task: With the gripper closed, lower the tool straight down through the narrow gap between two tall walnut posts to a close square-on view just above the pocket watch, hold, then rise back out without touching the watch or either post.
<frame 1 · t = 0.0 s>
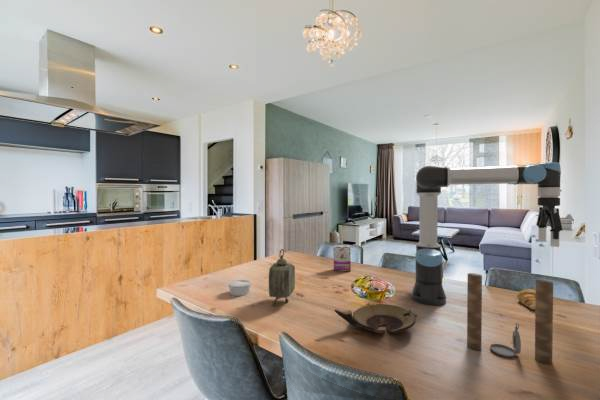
hand: (548, 244, 125), 28 cm above the table, fingers open, 13 cm apart
candy bar box: (342, 270, 185), on the table
post left: (474, 347, 91), on the table
ramekin: (239, 293, 143), on the table
croissant: (530, 304, 127), on the table
post right: (543, 360, 84), on the table
pocket watch: (507, 354, 88), on the table
oil lamp: (375, 327, 106), on the table
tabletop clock: (282, 302, 130), on the table
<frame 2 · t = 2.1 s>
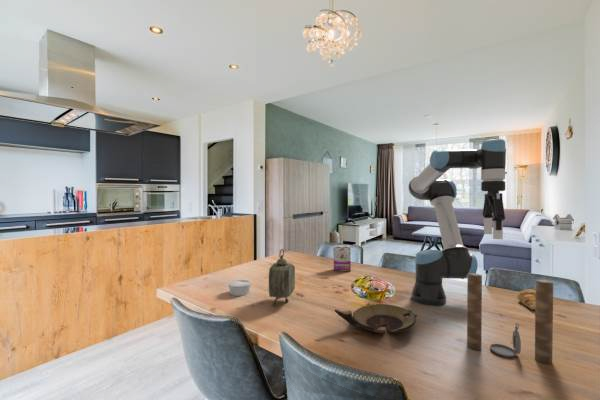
hand: (492, 236, 105), 34 cm above the table, fingers open, 13 cm apart
nothing on the table moved.
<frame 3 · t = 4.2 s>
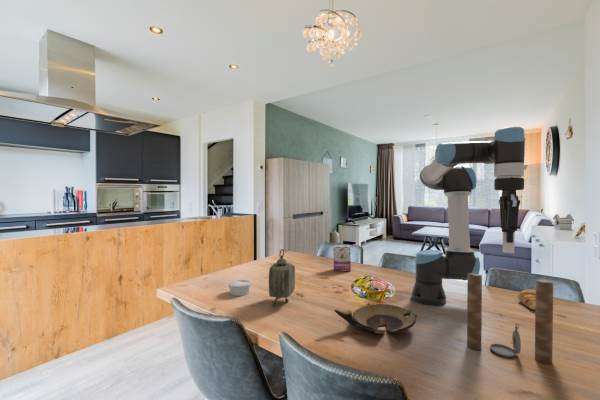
hand: (508, 252, 87), 32 cm above the table, fingers closed
nothing on the table moved.
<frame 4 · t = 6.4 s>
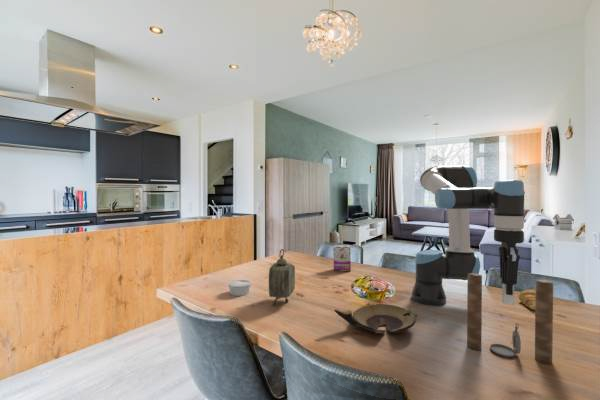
hand: (508, 303, 87), 16 cm above the table, fingers closed
nothing on the table moved.
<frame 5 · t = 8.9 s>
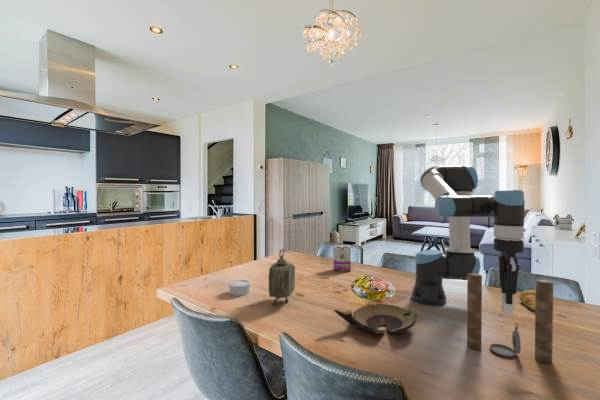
hand: (507, 312, 87), 13 cm above the table, fingers closed
nothing on the table moved.
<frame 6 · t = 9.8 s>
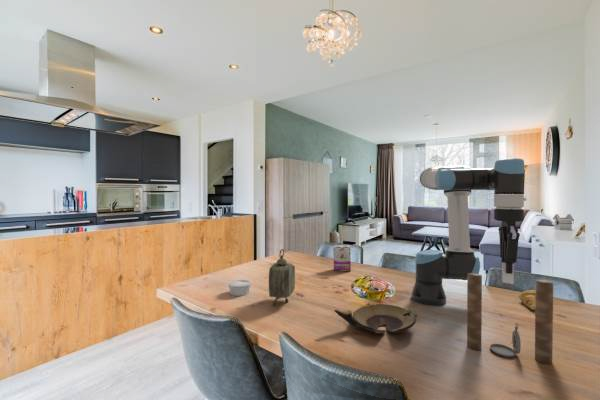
hand: (507, 282, 87), 23 cm above the table, fingers closed
nothing on the table moved.
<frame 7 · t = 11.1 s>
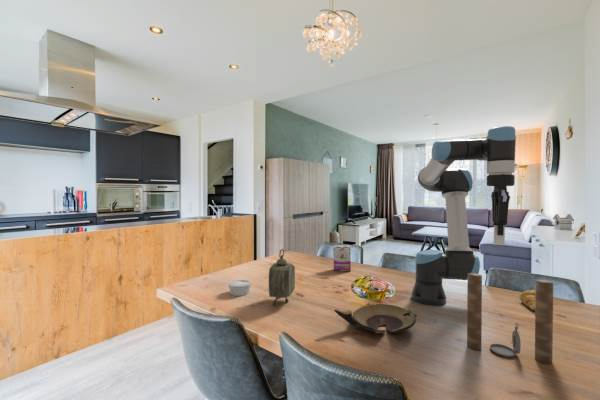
hand: (498, 244, 93), 34 cm above the table, fingers closed
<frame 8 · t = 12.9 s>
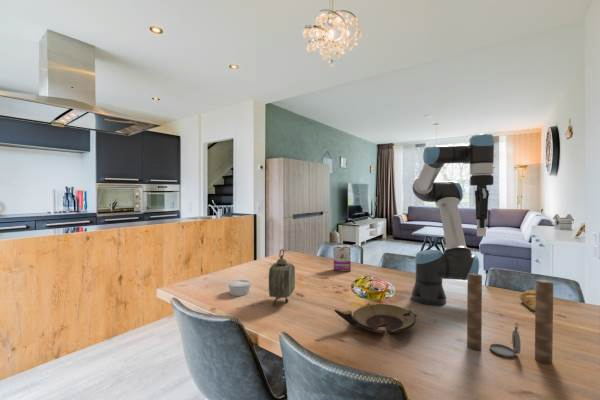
hand: (481, 236, 107), 34 cm above the table, fingers closed
at the end: pocket watch moved 0.3 cm from its start; post left moved 0.0 cm from its start; post right moved 0.0 cm from its start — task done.
